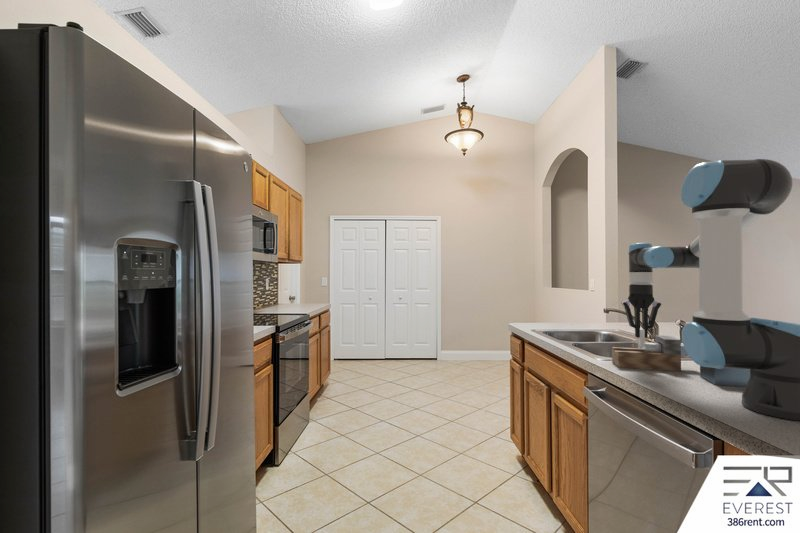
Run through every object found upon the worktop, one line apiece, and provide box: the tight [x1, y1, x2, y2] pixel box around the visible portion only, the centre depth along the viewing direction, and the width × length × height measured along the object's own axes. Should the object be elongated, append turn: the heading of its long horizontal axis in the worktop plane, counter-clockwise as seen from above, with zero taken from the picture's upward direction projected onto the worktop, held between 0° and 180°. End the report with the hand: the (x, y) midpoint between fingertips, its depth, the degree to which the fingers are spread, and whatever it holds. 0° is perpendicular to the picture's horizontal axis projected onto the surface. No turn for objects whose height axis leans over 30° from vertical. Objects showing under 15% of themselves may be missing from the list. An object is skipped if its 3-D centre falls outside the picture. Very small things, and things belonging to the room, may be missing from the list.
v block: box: [699, 365, 750, 388], centre depth 122 cm, size 10×10×7 cm
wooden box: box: [611, 334, 682, 372], centre depth 142 cm, size 20×9×11 cm, turn 74°
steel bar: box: [641, 342, 689, 357], centre depth 140 cm, size 4×16×4 cm, turn 74°
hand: (641, 346), depth 142 cm, fingers closed
